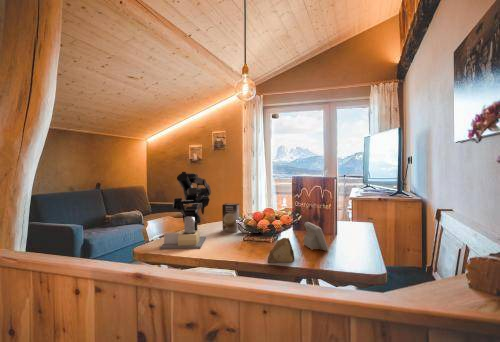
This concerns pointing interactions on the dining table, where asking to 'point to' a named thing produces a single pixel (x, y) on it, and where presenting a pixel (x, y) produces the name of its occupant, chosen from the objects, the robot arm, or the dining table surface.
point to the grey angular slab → (314, 237)
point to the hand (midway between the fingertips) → (194, 215)
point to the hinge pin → (189, 225)
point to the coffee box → (230, 217)
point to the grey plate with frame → (183, 241)
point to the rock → (282, 251)
